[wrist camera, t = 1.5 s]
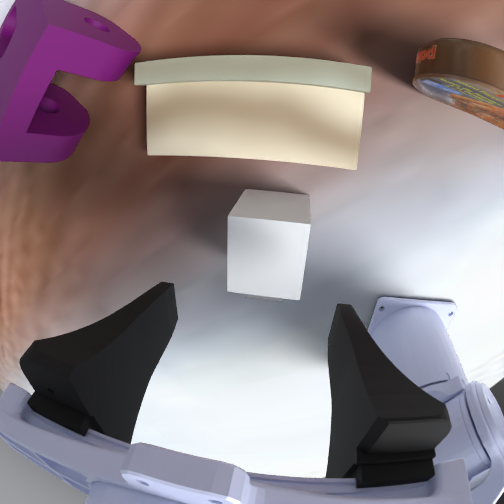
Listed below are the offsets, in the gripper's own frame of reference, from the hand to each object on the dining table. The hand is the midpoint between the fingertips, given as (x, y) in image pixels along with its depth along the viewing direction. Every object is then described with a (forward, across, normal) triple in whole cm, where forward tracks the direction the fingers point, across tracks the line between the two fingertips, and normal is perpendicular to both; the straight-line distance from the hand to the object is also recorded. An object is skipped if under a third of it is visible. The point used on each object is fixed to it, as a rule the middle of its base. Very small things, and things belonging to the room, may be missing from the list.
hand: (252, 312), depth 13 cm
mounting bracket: (+11, +19, -15) cm, 27 cm away
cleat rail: (+11, +2, -7) cm, 13 cm away
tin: (+11, -15, -12) cm, 22 cm away
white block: (+11, 0, 0) cm, 11 cm away
